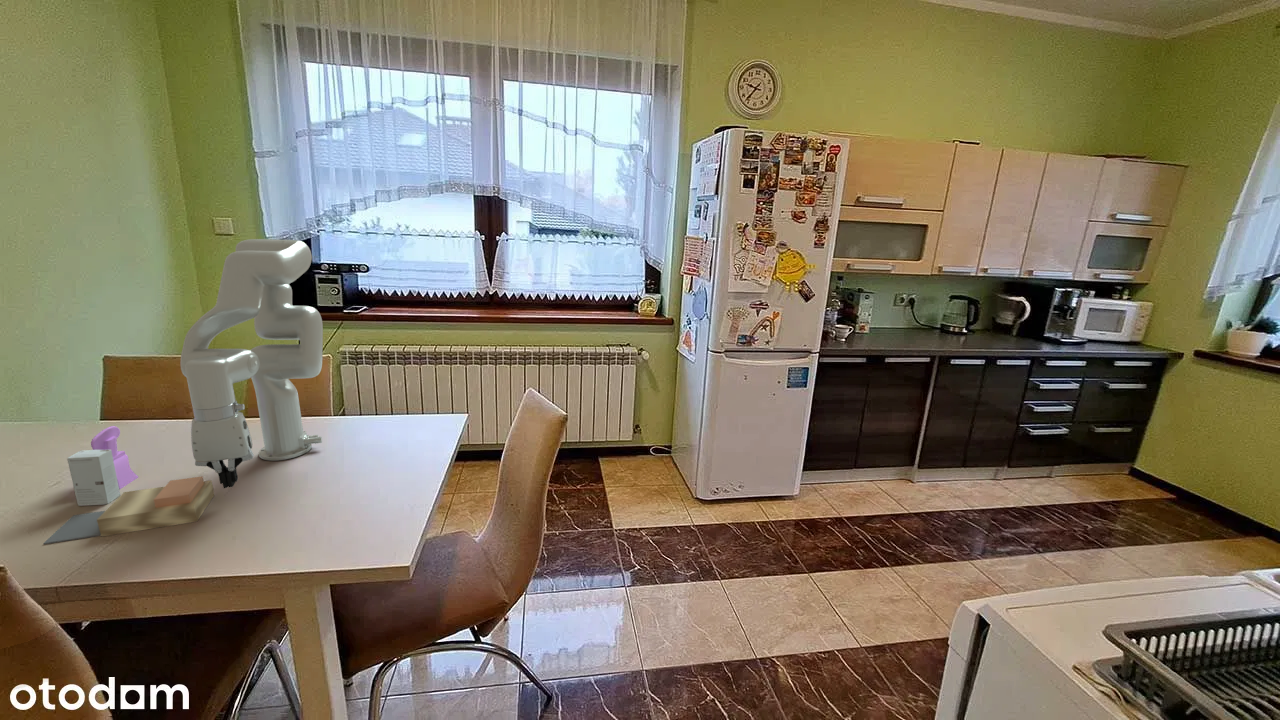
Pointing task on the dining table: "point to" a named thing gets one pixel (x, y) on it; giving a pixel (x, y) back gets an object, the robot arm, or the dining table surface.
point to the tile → (179, 492)
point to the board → (151, 511)
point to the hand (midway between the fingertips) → (229, 484)
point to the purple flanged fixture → (115, 454)
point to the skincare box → (94, 477)
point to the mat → (77, 528)
